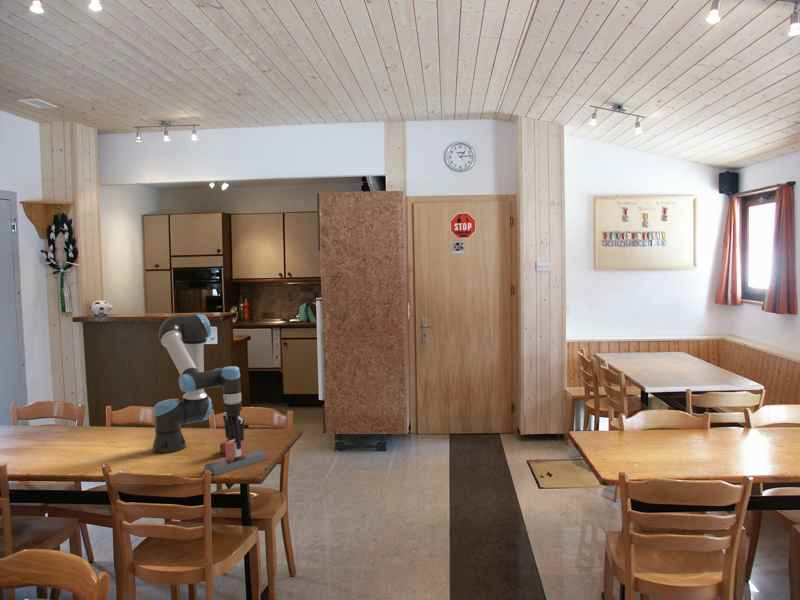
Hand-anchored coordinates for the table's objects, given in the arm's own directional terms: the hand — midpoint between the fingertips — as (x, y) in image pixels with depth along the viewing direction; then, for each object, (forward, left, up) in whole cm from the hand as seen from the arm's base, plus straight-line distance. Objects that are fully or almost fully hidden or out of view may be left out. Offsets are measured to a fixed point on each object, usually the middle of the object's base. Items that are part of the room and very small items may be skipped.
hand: (235, 455), depth 269 cm
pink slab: (0, 0, -4) cm, 4 cm away
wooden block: (-19, +9, -5) cm, 22 cm away
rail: (0, 0, -5) cm, 5 cm away
